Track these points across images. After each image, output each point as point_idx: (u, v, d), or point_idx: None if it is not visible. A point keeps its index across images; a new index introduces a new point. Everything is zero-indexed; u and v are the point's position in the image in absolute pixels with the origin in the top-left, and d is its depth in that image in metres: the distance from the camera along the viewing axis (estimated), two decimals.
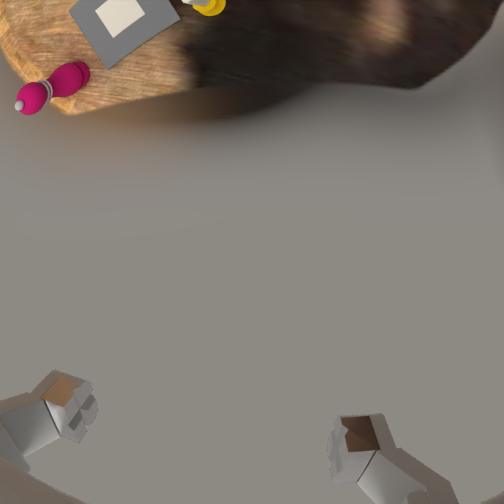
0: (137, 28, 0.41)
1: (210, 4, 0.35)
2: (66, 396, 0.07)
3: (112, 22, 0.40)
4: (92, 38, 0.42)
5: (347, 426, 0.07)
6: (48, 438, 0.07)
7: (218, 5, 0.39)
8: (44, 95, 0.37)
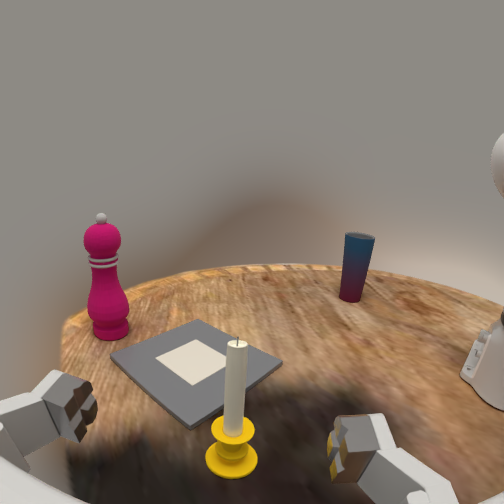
0: (169, 380, 0.36)
1: (230, 438, 0.23)
2: (66, 396, 0.07)
3: (178, 356, 0.41)
4: (157, 340, 0.45)
5: (347, 426, 0.07)
6: (48, 438, 0.07)
7: (231, 468, 0.24)
8: (99, 249, 0.40)
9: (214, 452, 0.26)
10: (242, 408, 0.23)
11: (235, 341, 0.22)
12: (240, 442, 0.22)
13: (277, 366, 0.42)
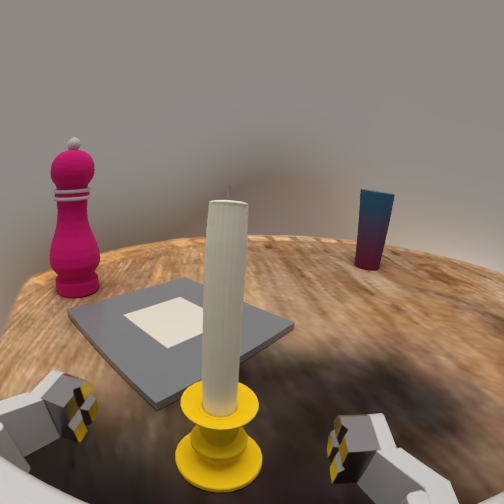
0: (136, 341, 0.26)
1: (214, 419, 0.13)
2: (66, 396, 0.07)
3: (154, 314, 0.31)
4: (130, 296, 0.35)
5: (347, 426, 0.07)
6: (48, 438, 0.07)
7: (217, 473, 0.14)
8: (66, 176, 0.30)
9: (190, 446, 0.15)
10: (236, 355, 0.13)
11: None
12: (232, 426, 0.12)
13: (287, 329, 0.31)
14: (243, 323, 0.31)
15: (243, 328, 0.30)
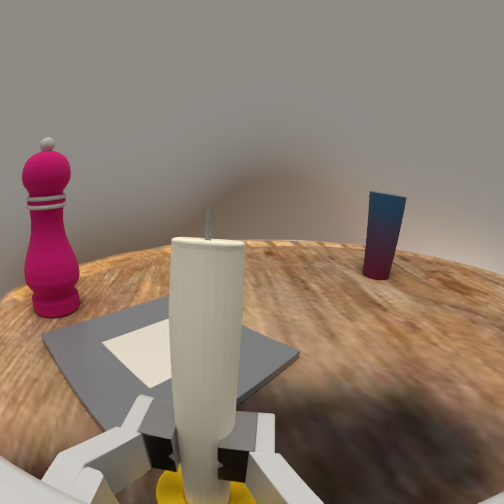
0: (114, 378, 0.20)
1: None
2: (168, 425, 0.07)
3: (136, 341, 0.26)
4: (111, 318, 0.29)
5: None
6: (139, 472, 0.07)
7: None
8: (37, 182, 0.25)
9: None
10: None
11: None
12: None
13: (292, 359, 0.26)
14: (240, 353, 0.26)
15: (240, 360, 0.25)
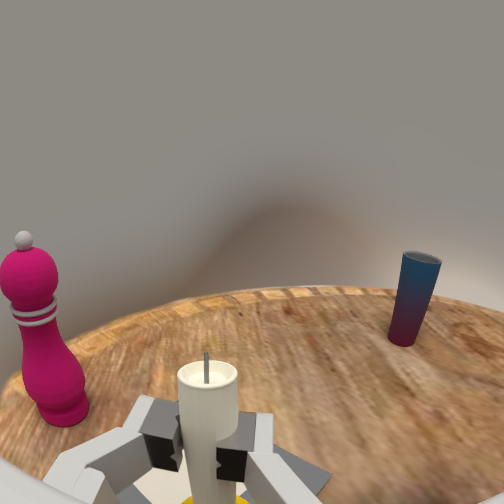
0: None
1: None
2: (170, 425, 0.07)
3: (162, 472, 0.20)
4: None
5: None
6: (140, 472, 0.07)
7: None
8: (18, 297, 0.19)
9: None
10: (234, 498, 0.08)
11: (197, 365, 0.07)
12: None
13: (324, 485, 0.20)
14: None
15: None
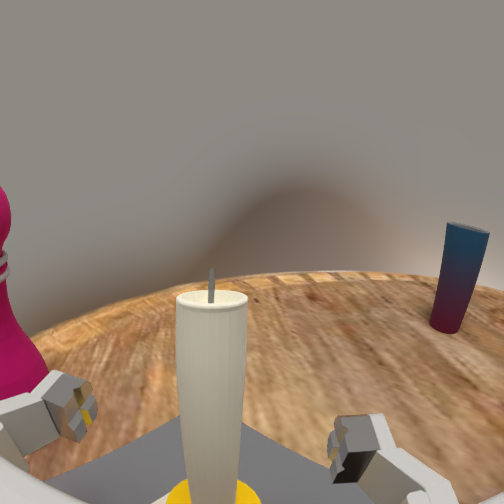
0: None
1: None
2: (66, 396, 0.07)
3: None
4: (112, 466, 0.14)
5: (347, 426, 0.07)
6: (47, 438, 0.07)
7: None
8: None
9: None
10: (236, 477, 0.08)
11: (200, 294, 0.07)
12: None
13: None
14: None
15: None
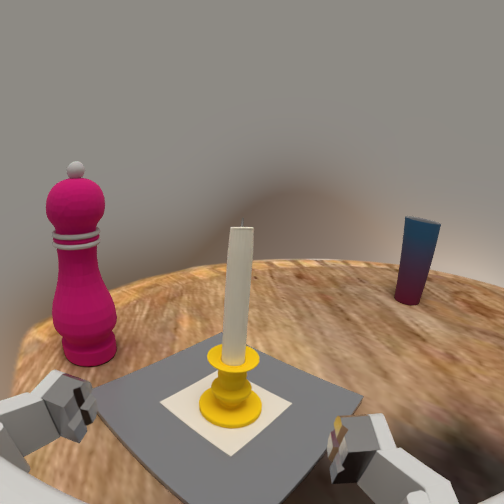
0: (187, 448, 0.18)
1: (235, 367, 0.21)
2: (66, 396, 0.07)
3: (198, 398, 0.24)
4: (160, 368, 0.27)
5: (347, 426, 0.07)
6: (48, 438, 0.07)
7: (235, 414, 0.21)
8: (67, 217, 0.22)
9: (208, 400, 0.23)
10: (247, 320, 0.21)
11: None
12: (248, 369, 0.20)
13: (357, 406, 0.24)
14: (309, 404, 0.24)
15: (311, 412, 0.23)
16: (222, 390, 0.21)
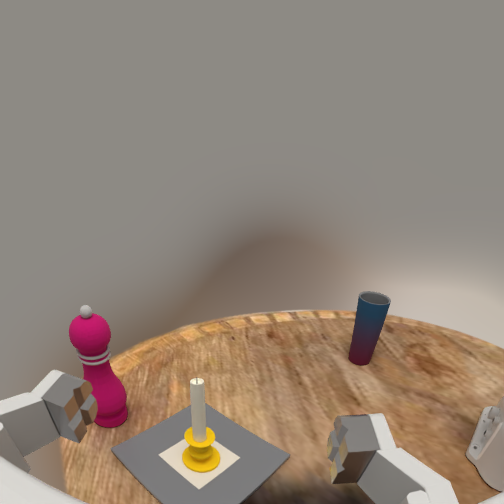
0: (175, 483, 0.29)
1: (200, 443, 0.31)
2: (66, 396, 0.07)
3: (182, 452, 0.35)
4: (158, 430, 0.38)
5: (347, 426, 0.07)
6: (48, 438, 0.07)
7: (203, 464, 0.32)
8: (87, 349, 0.33)
9: (188, 455, 0.34)
10: (205, 421, 0.31)
11: (194, 379, 0.30)
12: (207, 445, 0.31)
13: (284, 461, 0.35)
14: (251, 459, 0.35)
15: (251, 464, 0.34)
16: (194, 452, 0.32)
